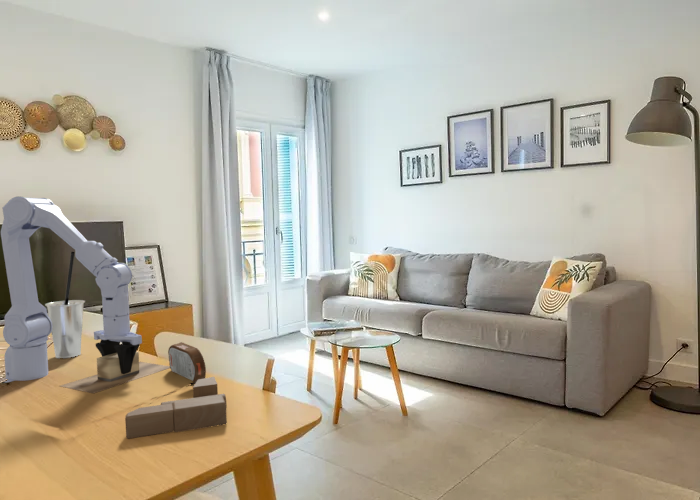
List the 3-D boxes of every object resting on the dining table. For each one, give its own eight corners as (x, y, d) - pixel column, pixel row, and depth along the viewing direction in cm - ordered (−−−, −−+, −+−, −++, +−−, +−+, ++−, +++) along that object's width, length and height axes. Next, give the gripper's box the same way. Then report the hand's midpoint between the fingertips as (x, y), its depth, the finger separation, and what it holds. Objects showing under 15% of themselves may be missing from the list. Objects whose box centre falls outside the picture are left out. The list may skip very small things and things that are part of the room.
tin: (207, 386, 120) (206, 349, 119) (194, 389, 117) (193, 352, 117) (179, 372, 131) (177, 339, 130) (166, 375, 129) (165, 341, 128)
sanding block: (97, 379, 122) (96, 358, 122) (126, 370, 129) (125, 350, 129) (110, 381, 120) (109, 360, 120) (139, 372, 127) (138, 352, 127)
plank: (59, 391, 118) (58, 385, 118) (140, 366, 137) (139, 361, 137) (93, 398, 112) (93, 393, 112) (173, 371, 131) (172, 366, 131)
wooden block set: (230, 396, 97) (124, 411, 90) (231, 426, 97) (126, 443, 90) (219, 371, 112) (128, 383, 106) (220, 397, 113) (129, 410, 106)
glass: (79, 360, 144) (73, 251, 142) (38, 361, 144) (32, 252, 143) (98, 350, 155) (93, 249, 153) (60, 351, 155) (55, 250, 153)
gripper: (81, 315, 124) (84, 372, 125) (122, 320, 117) (125, 380, 118) (107, 310, 130) (110, 364, 131) (148, 314, 123) (150, 371, 124)
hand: (118, 371), depth 125 cm, fingers closed on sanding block, 4 cm apart
